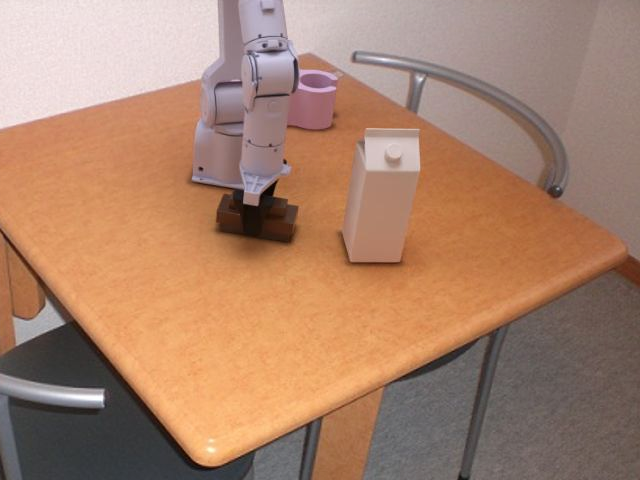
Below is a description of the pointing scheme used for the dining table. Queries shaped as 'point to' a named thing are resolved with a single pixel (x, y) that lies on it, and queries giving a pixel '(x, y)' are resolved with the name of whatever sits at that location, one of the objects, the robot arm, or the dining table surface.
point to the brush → (275, 223)
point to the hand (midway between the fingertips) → (257, 220)
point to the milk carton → (381, 194)
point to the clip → (312, 100)
